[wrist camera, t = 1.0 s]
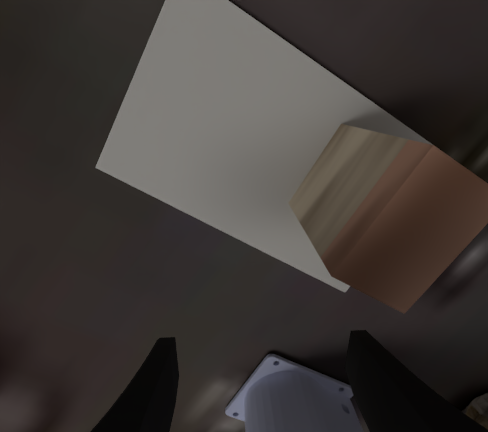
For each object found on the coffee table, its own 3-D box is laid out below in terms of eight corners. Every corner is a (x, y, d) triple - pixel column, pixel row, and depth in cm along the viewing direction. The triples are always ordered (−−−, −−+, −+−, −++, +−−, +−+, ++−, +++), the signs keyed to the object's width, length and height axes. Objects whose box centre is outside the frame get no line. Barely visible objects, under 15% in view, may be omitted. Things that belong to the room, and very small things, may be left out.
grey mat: (449, 158, 20) (453, 159, 20) (343, 289, 24) (345, 292, 23) (180, -31, 16) (179, -34, 15) (97, 166, 19) (95, 167, 19)
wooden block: (389, 155, 20) (509, 198, 11) (334, 229, 21) (404, 313, 13) (340, 123, 19) (433, 145, 10) (288, 203, 20) (331, 276, 12)
